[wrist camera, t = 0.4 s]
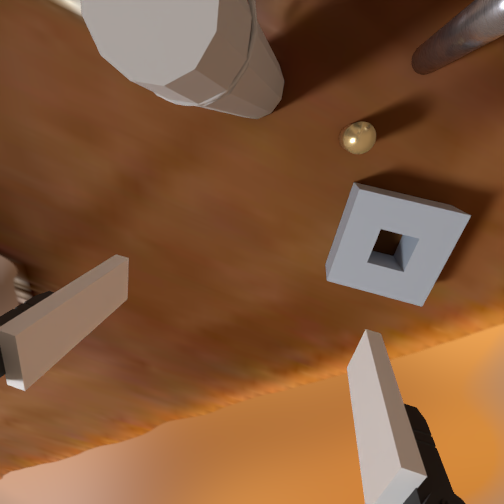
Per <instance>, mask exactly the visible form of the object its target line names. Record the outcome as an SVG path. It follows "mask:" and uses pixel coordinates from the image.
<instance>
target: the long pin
mask: <svg viewBox="0 0 504 504" xmlns="http://www.w3.org/2000/svg"><path fill="white" fill-rule="evenodd" d="M503 35H504V0H474V1H473V2H472V3H471V4H470V5H468V6H467V7H466V8H465V9H464V10H462V11H461V12H460V13H459V14H458V15H456V16H455V17H454V18H453V19H452V20H450V21H449V22H448V23H447V24H445V25H444V26H443V27H442V28H441V29H439V30H438V31H437V32H436V33H435V34H433V35H432V36H431V37H430V38H429V39H427V40H426V41H425V42H424V43H423V44H421V45H420V46H419V47H418V48H417V49H416V51H415V52H414V54H413V57H412V67H413V69H414V71H415V72H417V73H418V74H422V75H425V74H429V73H432V72H433V71H435V70H437V69H439V68H441V67H443V66H445V65H447V64H449V63H451V62H453V61H455V60H457V59H459V58H460V57H462V56H464V55H466V54H468V53H470V52H472V51H474V50H476V49H478V48H480V47H482V46H484V45H486V44H488V43H489V42H491V41H493V40H495V39H497V38H499V37H501V36H503Z"/></svg>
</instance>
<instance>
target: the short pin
mask: <svg viewBox="0 0 504 504" xmlns="http://www.w3.org/2000/svg"><path fill="white" fill-rule="evenodd" d="M375 140H376V131H375V129H374V127H373V126H372V125H371V124H370V123H368V122H357V123H353V124H349V125H347V126H345V127H344V128H343V129H342V130H341V132H340V134H339V143H340V145H341V147H342V148H344V149H345V150H347V151H349V152H351V153H354V154H363V153H365V152H367V151H369V150H370V149H371V148H372V146H373V145H374V143H375Z"/></svg>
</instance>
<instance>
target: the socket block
mask: <svg viewBox="0 0 504 504" xmlns="http://www.w3.org/2000/svg"><path fill="white" fill-rule="evenodd" d="M470 217H471V215H469V214H467V213H465V212H463V211H462V210H460V209H458V208H456V207H454V206H452V205H449V204H445V203H440V202H436V201H432V200H428V199H423V198H419V197H415V196H411V195H406V194H402V193H398V192H394V191H389V190H385V189H381V188H377V187H372V186H368V185H364V184H360V183H355V182H354V183H353V186H352V189H351V192H350V195H349V198H348V201H347V204H346V207H345V209H344V212H343V215H342V218H341V221H340V224H339V227H338V230H337V233H336V235H335V238H334V241H333V244H332V247H331V250H330V253H329V256H328V259H327V261H326V264H325V265H326V277H327V281H330V282H334V283H338V284H341V285H345V286H349V287H352V288H356V289H360V290H363V291H367V292H371V293H374V294H378V295H382V296H385V297H389V298H393V299H396V300H400V301H403V302H407V303H411V304H414V305H418V306H423V304H424V302H425V300H426V298H427V296H428V295H429V293H430V291H431V289H432V287H433V285H434V284H435V282H436V280H437V278H438V276H439V274H440V272H441V271H442V269H443V267H444V265H445V263H446V261H447V260H448V258H449V256H450V254H451V252H452V250H453V248H454V247H455V245H456V243H457V241H458V239H459V237H460V236H461V234H462V232H463V230H464V228H465V226H466V224H467V223H468V221H469V219H470ZM381 229H382V230H386V231H390V232H394V233H398V234H402V235H403V236H402V238H401V240H400V242H399V245H398V247H397V249H396V251H395V253H394V256H391V255H388V254H384V253H380V252H376V251H372V249H373V247H374V244H375V242H376V240H377V237H378V235H379V232H380V230H381Z"/></svg>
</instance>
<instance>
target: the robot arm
mask: <svg viewBox="0 0 504 504" xmlns="http://www.w3.org/2000/svg"><path fill="white" fill-rule="evenodd" d="M128 263H129V258H126V257H122V256H119V255H114V256H113V257H111V258H110V259H108V260H106V261H105V262H103V263H102V264H100V265H98V266H97V267H95V268H94V269H92V270H90V271H89V272H87V273H86V274H84V275H82V276H81V277H79V278H78V279H76V280H74V281H73V282H71V283H69V284H68V285H66V286H65V287H63V288H61V289H60V290H58V291H57V292H55V293H54V292H51V291H48V292H45V293H42V294H39V295H36V296H34V297H32V298H31V299H29V300H27V301H26V302H24V304H21V305H19V306H17V307H16V308H15V309H12V310H10V311H9V312H7V313H5V314H4V315H2V316H0V377H2V376H3V375H4V374H5V376H6V380H7V385H10V386H13V387H15V388H18V389H21V390H24V391H25V390H27V389H28V388H29V387H30V386H31V385H32V384H33V383H34V382H36V381H37V380H38V379H39V378H40V377H41V376H42V375H43V374H44V373H46V372H47V371H48V370H49V369H50V368H51V367H52V366H53V365H54V364H56V363H57V362H58V361H59V360H60V359H61V358H62V357H63V356H64V355H66V354H67V353H68V352H69V351H70V350H71V349H72V348H73V347H75V346H76V345H77V344H78V343H79V342H80V341H81V340H82V339H83V338H85V337H86V336H87V335H88V334H89V333H90V332H91V331H92V330H93V329H95V328H96V327H97V326H98V325H99V324H100V323H101V322H102V321H103V320H105V319H106V318H107V317H108V316H109V315H110V314H111V313H112V312H114V311H115V310H116V309H117V308H118V307H119V306H120V305H121V304H122V303H124V302H125V301H126V300H127V292H128ZM347 372H348V380H349V386H350V394H351V402H352V409H353V416H354V424H355V432H356V439H357V446H358V453H359V461H360V469H361V476H362V483H363V490H364V498H365V504H465V503H464V501H463V500H462V499H461V498H459V497H458V496H457V495H456V494H454V492H453V490H452V487H451V485H450V482H449V479H448V477H447V474H446V472H445V469H444V466H443V464H442V461H441V458H440V456H439V453H438V451H437V449H436V448H435V443H434V440H433V438H432V437H431V433H430V430H429V427H428V425H427V422H426V420H425V419H424V417H423V416H422V415H421V413H420V412H419V411H418V409H417V408H416V407H413V406H410V405H406V404H404V403H403V401H402V397H401V394H400V391H399V388H398V385H397V382H396V379H395V376H394V373H393V370H392V366H391V364H390V360H389V357H388V354H387V351H386V348H385V345H384V342H383V339H382V335H381V334H380V333H377V332H374V331H370V330H367V329H366V330H365V332H364V334H363V336H362V338H361V340H360V342H359V344H358V346H357V348H356V350H355V352H354V355H353V357H352V359H351V361H350V363H349V365H348V367H347Z"/></svg>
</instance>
